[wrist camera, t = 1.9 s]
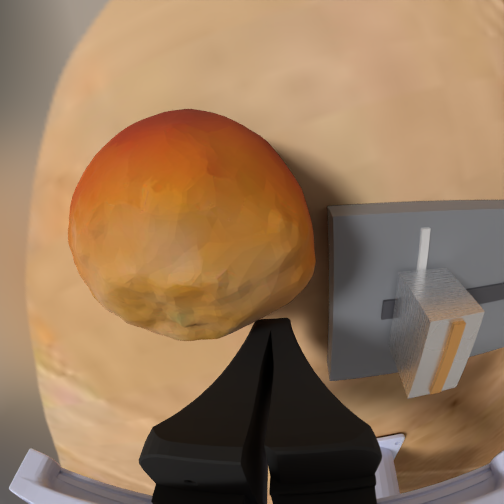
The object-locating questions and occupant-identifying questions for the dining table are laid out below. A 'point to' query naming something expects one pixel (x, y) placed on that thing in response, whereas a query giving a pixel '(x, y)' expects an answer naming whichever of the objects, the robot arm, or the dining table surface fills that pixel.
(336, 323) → the board
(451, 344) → the fader cap
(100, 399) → the dining table surface
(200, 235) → the fruit
